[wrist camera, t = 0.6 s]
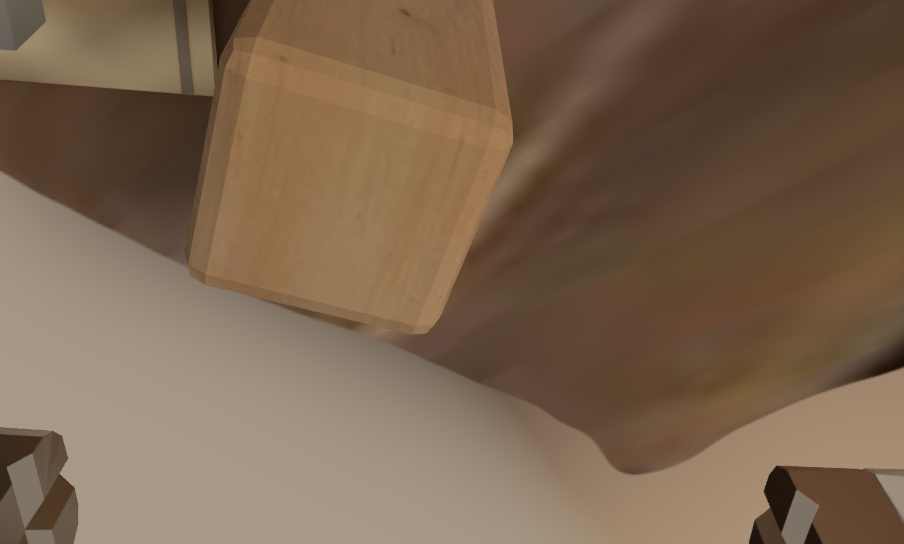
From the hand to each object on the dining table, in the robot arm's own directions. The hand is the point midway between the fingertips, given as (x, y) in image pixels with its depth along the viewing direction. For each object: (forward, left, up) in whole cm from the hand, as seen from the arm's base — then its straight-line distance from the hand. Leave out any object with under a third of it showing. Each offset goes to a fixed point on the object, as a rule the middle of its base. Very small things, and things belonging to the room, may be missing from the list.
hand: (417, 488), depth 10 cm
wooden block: (+8, -2, -39) cm, 40 cm away
